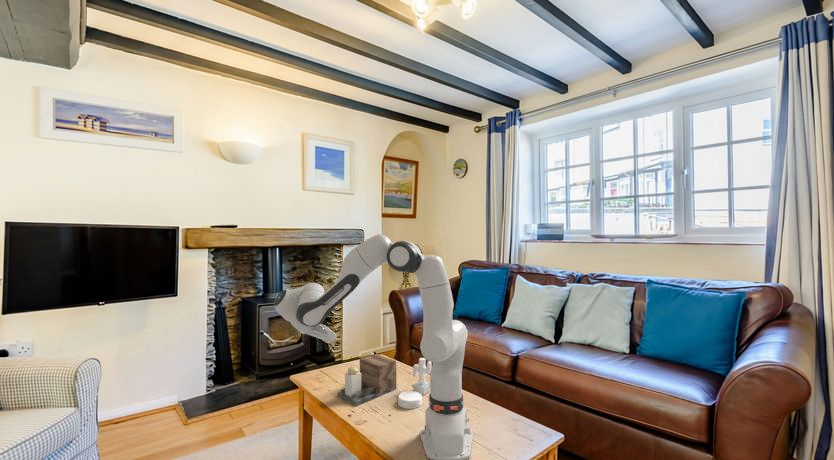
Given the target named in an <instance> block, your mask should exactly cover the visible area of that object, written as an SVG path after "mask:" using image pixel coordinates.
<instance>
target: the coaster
mask: <svg viewBox="0 0 834 460" xmlns="http://www.w3.org/2000/svg"><path fill="white" fill-rule="evenodd" d="M397 401H398V402H397V404H398V406H399V407H400V408H402V409H407V410H411V409H412V410H414V409H418V408H420V407H421V406H422V404H423V395H422V394H420V393H418V392H415V390H407V391H406V390H405V391H402V392H400V393H399V394H398V396H397Z"/></svg>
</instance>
